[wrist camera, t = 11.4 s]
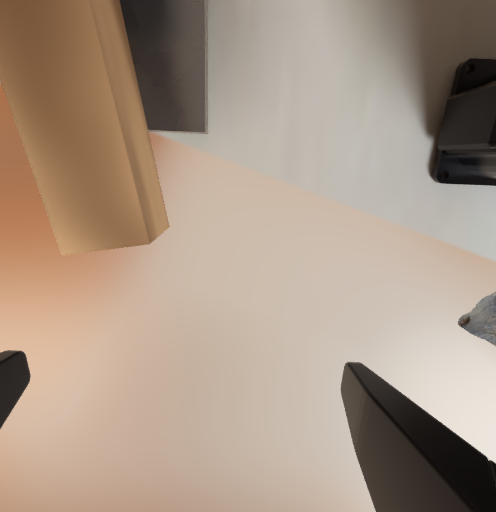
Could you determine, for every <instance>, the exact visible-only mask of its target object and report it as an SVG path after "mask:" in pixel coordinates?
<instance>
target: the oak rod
mask: <svg viewBox="0 0 496 512" xmlns="http://www.w3.org/2000/svg"><path fill="white" fill-rule="evenodd" d="M0 80H1V83H2V86H3V89H4V92H5V95H6V97H7V100H8V103H9V106H10V109H11V112H12V115H13V118H14V120H15V123H16V126H17V129H18V132H19V135H20V138H21V140H22V143H23V146H24V149H25V151H26V155H27V157H28V160H29V163H30V166H31V169H32V172H33V175H34V178H35V180H36V183H37V186H38V189H39V192H40V195H41V198H42V201H43V203H44V206H45V209H46V212H47V215H48V218H49V220H50V223H51V226H52V229H53V232H54V235H55V237H56V240H57V243H58V246H59V249H60V252H61V255H69V254H77V253H84V252H92V251H100V250H108V249H115V248H123V247H130V246H139V245H146V244H150V243H151V242H152V241H154V240H155V239H156V238H157V237H158V236H159V235H161V234H162V233H163V232H164V231H165V230H166V229H168V228H169V222H168V218H167V213H166V209H165V204H164V200H163V195H162V191H161V187H160V182H159V177H158V173H157V168H156V164H155V159H154V155H153V150H152V146H151V141H150V137H149V132H148V127H147V123H146V118H145V114H144V109H143V105H142V100H141V96H140V91H139V87H138V82H137V78H136V73H135V69H134V64H133V60H132V55H131V51H130V46H129V42H128V37H127V33H126V28H125V24H124V19H123V14H122V10H121V5H120V1H119V0H0Z"/></svg>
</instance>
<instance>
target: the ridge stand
mask: <svg viewBox="0 0 496 512" xmlns="http://www.w3.org/2000/svg"><path fill="white" fill-rule="evenodd" d="M119 1H120V5H121V10H122V14H123V19H124V24H125V28H126V33H127V37H128V42H129V46H130V51H131V55H132V60H133V64H134V69H135V73H136V78H137V82H138V87H139V91H140V96H141V100H142V105H143V109H144V114H145V118H146V123H147V127H148V131H152V132H175V133H199V134H208V69H207V0H119Z"/></svg>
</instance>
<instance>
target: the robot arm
mask: <svg viewBox="0 0 496 512" xmlns="http://www.w3.org/2000/svg"><path fill="white" fill-rule="evenodd" d="M467 66H468V67H469V68H470V72H469V74H467V73H466V67H467ZM437 146H438V153H437V157H436V162H435V166H434V170H433V180H434V181H435V182H437V183H445V184H469V185H493V186H496V60H495V59H469V60H466V61H464V62H462V63H461V64H460V65H459V66H458V68H457V70H456V74H455V79H454V83H453V87H452V92H451V96H450V99H449V100H448V101H447V105H446V109H445V114H444V118H443V122H442V127H441V131H440V136H439V140H438V144H437ZM443 171H444V172H445V176H444V177H443V178H441V173H442V172H443ZM29 381H30V371H29V367H28V362H27V358H26V355H25V353H24V352H22V351H12V350H11V351H10V350H8V351H4V352H1V353H0V429H1V427H2V425H3V424H4V422H5V421H6V419H7V417H8V416H9V414H10V413H11V411H12V409H13V408H14V406H15V405H16V403H17V401H18V400H19V398H20V397H21V395H22V393H23V392H24V390H25V388H26V387H27V385H28V383H29ZM341 395H342V399H343V403H344V407H345V411H346V416H347V419H348V424H349V428H350V432H351V437H352V441H353V445H354V448H355V452H356V455H357V458H358V461H359V464H360V467H361V470H362V472H363V476H364V479H365V481H366V484H367V487H368V490H369V493H370V496H371V499H372V501H373V504H374V507H375V510H376V512H496V463H494V462H493V461H491V460H489V461H488V459H487V457H486V456H485V455H483V454H482V453H481V452H479V451H478V450H477V449H475V448H474V447H473V446H471V445H470V444H469V443H467V442H466V441H465V440H463V439H462V438H461V437H459V436H458V435H457V434H455V433H454V432H453V431H451V430H450V429H449V428H447V427H446V426H445V425H443V424H442V423H441V422H439V421H438V420H437V419H435V418H434V417H433V416H431V415H430V414H429V413H427V412H426V411H425V410H423V409H422V408H421V407H419V406H418V405H417V404H415V403H414V402H413V401H411V400H410V399H409V398H407V397H406V396H405V395H403V394H402V393H401V392H399V391H398V390H397V389H395V388H394V387H393V386H391V385H390V384H389V383H387V382H386V381H384V380H383V379H382V378H381V377H379V376H378V375H377V374H375V373H374V372H373V371H371V370H370V369H369V368H367V367H366V366H364V365H363V364H362V363H359V362H347V363H346V364H345V366H344V371H343V377H342V383H341Z"/></svg>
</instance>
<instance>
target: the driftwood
mask: <svg viewBox="0 0 496 512" xmlns="http://www.w3.org/2000/svg"><path fill="white" fill-rule="evenodd" d="M458 325H459V326H460V327H462V328H464V329H465V330H466V331H468V332H469V333H470V334H473V335H475V336H477V337H479V338H481V339H485V340H486V341H488V342H490V343H491V344H493V345H495V346H496V292H495V293H492V294H490V295H488V296H486V297H484V298H483V299H481V301H479V302H478V304H477V305H476V307H475V308H473V309H472V311H471V312H469V313H467V314H465V315H462V317H460V319H459V321H458Z"/></svg>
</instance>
